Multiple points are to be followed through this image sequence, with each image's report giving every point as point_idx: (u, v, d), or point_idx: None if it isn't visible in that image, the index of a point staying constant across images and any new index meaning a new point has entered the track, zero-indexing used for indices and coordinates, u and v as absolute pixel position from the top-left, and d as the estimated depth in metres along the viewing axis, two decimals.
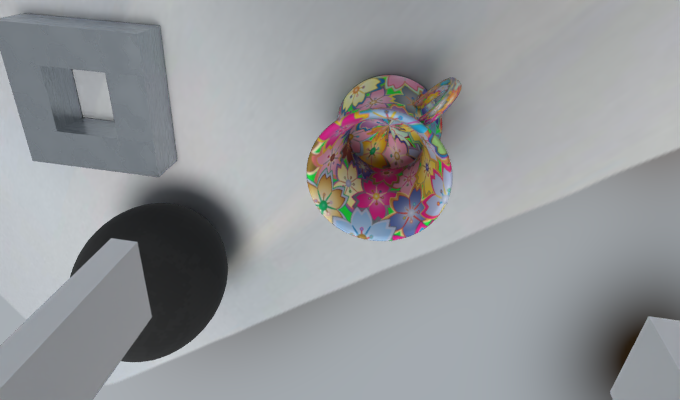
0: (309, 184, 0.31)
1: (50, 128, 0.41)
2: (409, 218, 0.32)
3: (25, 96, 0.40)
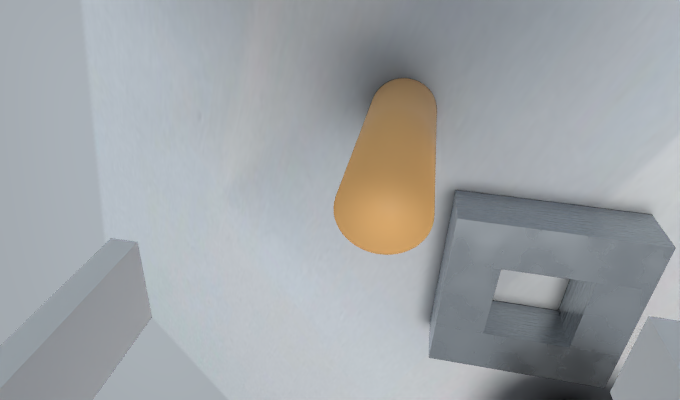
0: None
1: (475, 329, 0.32)
2: None
3: (458, 297, 0.31)
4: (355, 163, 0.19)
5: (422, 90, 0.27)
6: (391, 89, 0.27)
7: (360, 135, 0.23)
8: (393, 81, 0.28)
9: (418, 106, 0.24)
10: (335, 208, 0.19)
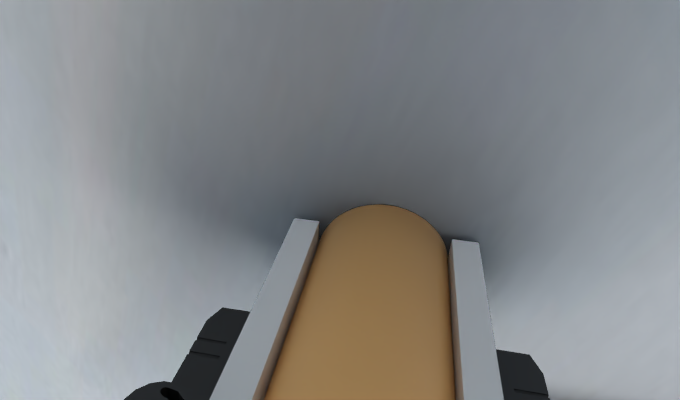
0: None
1: None
2: None
3: None
4: None
5: (420, 241, 0.13)
6: (352, 244, 0.12)
7: None
8: (359, 212, 0.14)
9: (413, 314, 0.10)
10: None
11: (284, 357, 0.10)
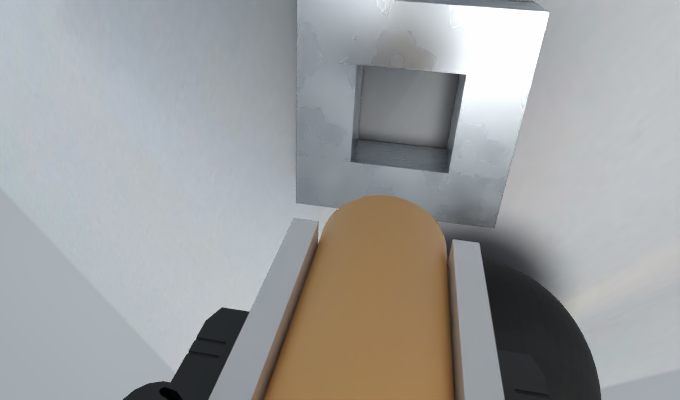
0: None
1: (340, 157, 0.27)
2: None
3: (315, 111, 0.26)
4: None
5: (419, 229, 0.13)
6: (355, 232, 0.13)
7: None
8: (361, 203, 0.14)
9: (412, 297, 0.11)
10: None
11: (291, 336, 0.10)
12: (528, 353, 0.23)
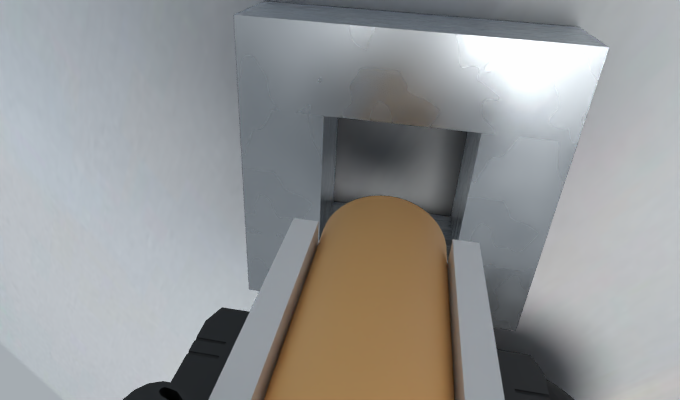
0: None
1: None
2: None
3: (268, 177, 0.19)
4: None
5: (419, 229, 0.13)
6: (355, 232, 0.13)
7: None
8: (360, 203, 0.14)
9: (412, 297, 0.11)
10: None
11: (291, 337, 0.10)
12: None
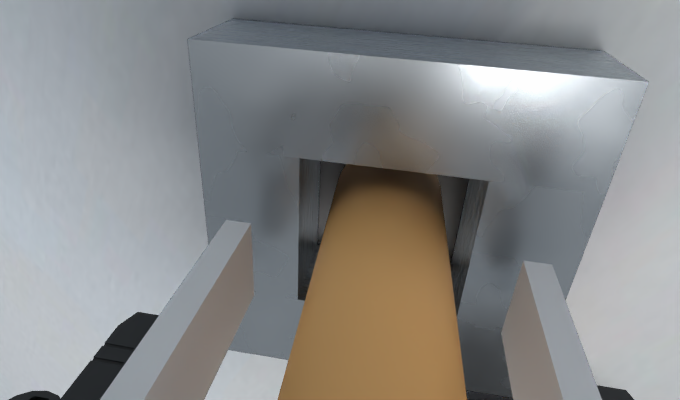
0: None
1: (282, 292, 0.17)
2: None
3: None
4: None
5: None
6: (369, 172, 0.16)
7: (314, 284, 0.12)
8: None
9: (418, 212, 0.14)
10: None
11: (326, 243, 0.13)
12: None
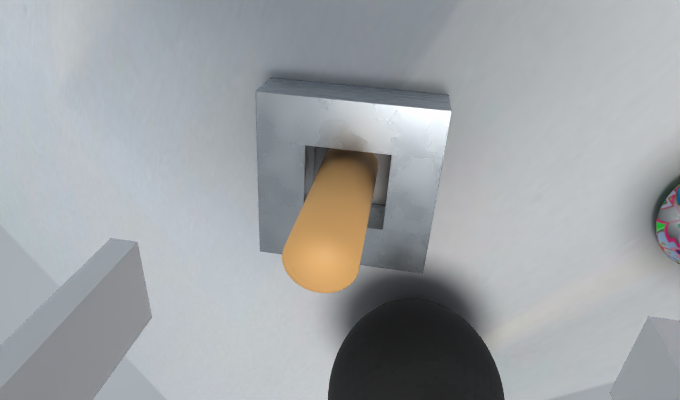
0: None
1: (295, 216, 0.33)
2: None
3: (273, 180, 0.32)
4: (299, 222, 0.25)
5: (363, 152, 0.33)
6: (337, 152, 0.32)
7: (308, 194, 0.28)
8: None
9: (357, 168, 0.30)
10: (283, 257, 0.25)
11: (314, 181, 0.30)
12: (439, 379, 0.29)
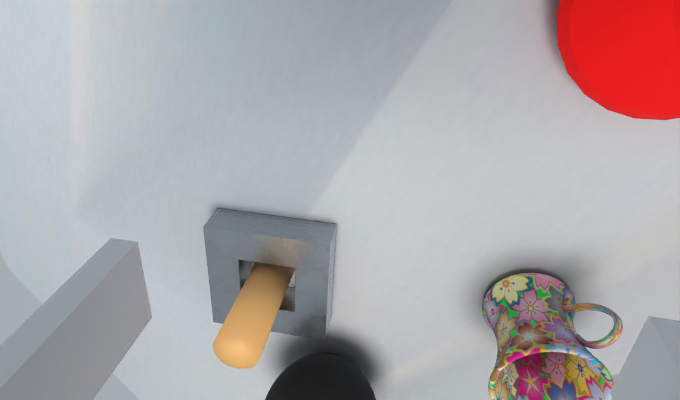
0: (490, 389, 0.39)
1: None
2: None
3: (218, 279, 0.47)
4: (224, 325, 0.40)
5: None
6: None
7: (236, 298, 0.43)
8: None
9: (272, 276, 0.45)
10: (213, 348, 0.39)
11: (243, 285, 0.45)
12: None
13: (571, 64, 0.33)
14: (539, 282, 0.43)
